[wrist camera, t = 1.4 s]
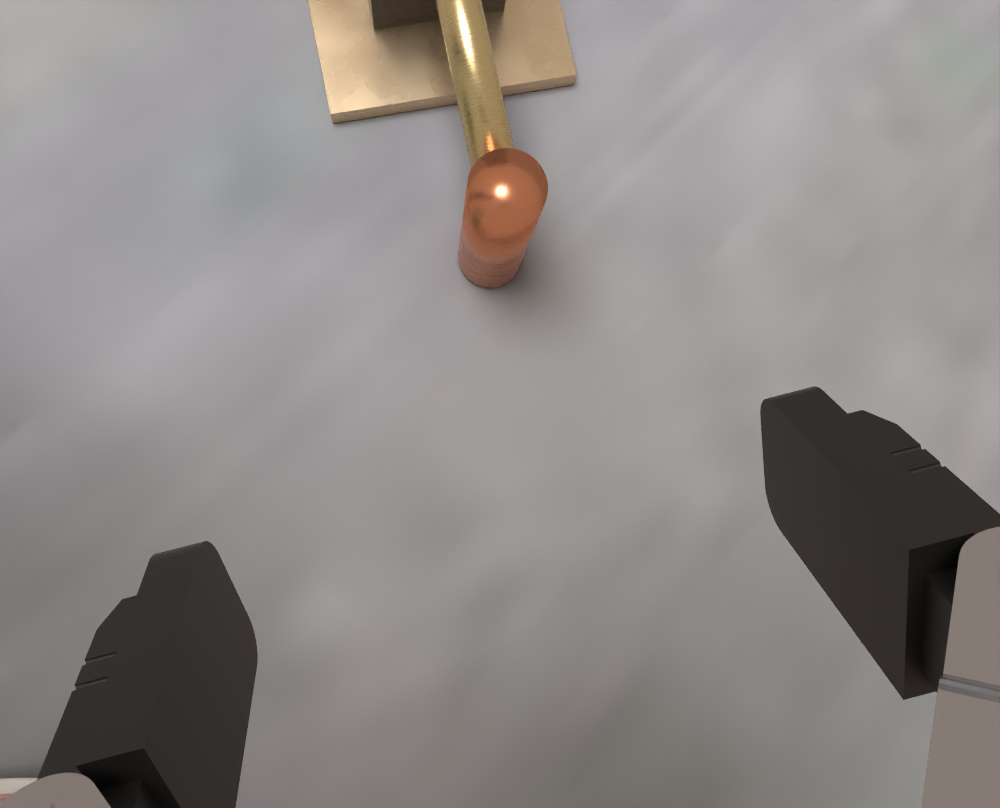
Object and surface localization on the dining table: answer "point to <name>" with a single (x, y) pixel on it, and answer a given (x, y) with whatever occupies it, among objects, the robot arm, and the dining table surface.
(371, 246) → the dining table surface
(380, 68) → the slotted upright stand
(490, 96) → the copper and brass hammer
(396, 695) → the dining table surface
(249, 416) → the dining table surface
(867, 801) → the dining table surface
